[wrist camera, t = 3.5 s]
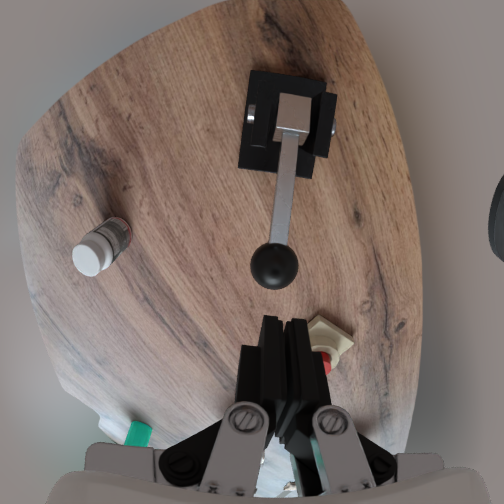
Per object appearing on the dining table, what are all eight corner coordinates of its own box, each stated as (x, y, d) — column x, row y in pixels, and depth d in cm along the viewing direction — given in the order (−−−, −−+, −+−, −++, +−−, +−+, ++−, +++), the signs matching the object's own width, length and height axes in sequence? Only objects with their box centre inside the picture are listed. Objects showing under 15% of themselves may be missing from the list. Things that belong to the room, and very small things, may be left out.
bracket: (309, 177, 29) (339, 210, 18) (238, 166, 29) (221, 192, 18) (324, 84, 25) (364, 57, 13) (251, 72, 24) (241, 33, 13)
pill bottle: (110, 251, 34) (79, 281, 27) (99, 220, 32) (63, 245, 25) (137, 246, 34) (108, 278, 26) (126, 212, 32) (92, 238, 24)
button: (316, 346, 36) (318, 357, 34) (334, 357, 37) (337, 367, 35) (297, 362, 37) (298, 372, 36) (315, 371, 38) (317, 381, 37)
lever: (290, 288, 19) (298, 296, 16) (247, 283, 19) (247, 289, 16) (309, 116, 18) (318, 96, 15) (270, 109, 18) (274, 88, 15)
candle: (129, 424, 58) (117, 458, 47) (134, 418, 56) (121, 455, 45) (149, 433, 59) (139, 467, 48) (155, 428, 57) (144, 464, 46)
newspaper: (342, 478, 75) (342, 483, 73) (331, 483, 82) (331, 487, 80) (289, 481, 75) (289, 487, 72) (281, 485, 81) (281, 490, 79)
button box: (318, 313, 37) (322, 330, 34) (352, 336, 39) (358, 352, 36) (273, 352, 41) (273, 369, 38) (308, 371, 43) (311, 386, 40)
